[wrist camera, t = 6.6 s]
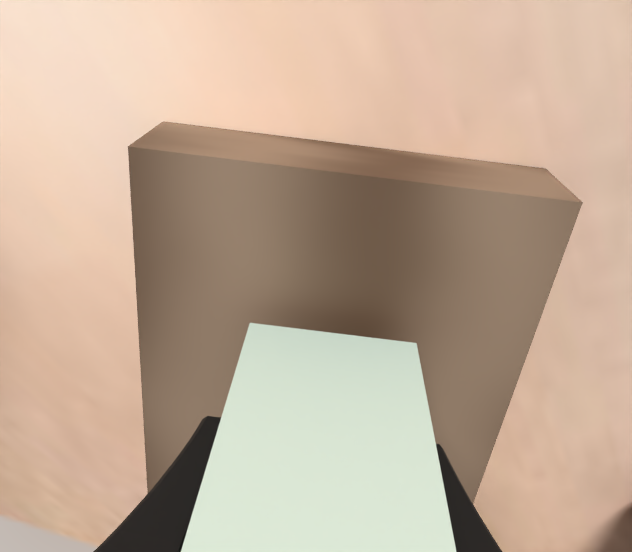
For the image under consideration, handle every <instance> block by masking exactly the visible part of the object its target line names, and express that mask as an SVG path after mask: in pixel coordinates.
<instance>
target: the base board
mask: <svg viewBox="0 0 632 552" xmlns="http://www.w3.org/2000/svg"><path fill="white" fill-rule="evenodd" d="M128 153H129V171H130V188H131V206H132V224H133V241H134V259H135V277H136V294H137V312H138V330H139V347H140V365H141V382H142V400H143V418H144V435H145V453H146V471H147V488H148V493H149V492H150V491H151V489H152V488H153V487H154V486H155V485H156V483H157V482H158V481H159V480H160V478H161V477H162V476H163V474H164V473H165V472H166V471H167V469H168V468H169V467H170V466H171V464H172V463H173V462H174V460H175V459H176V458H177V456H178V455H179V454H180V452H181V451H182V450H183V448H184V447H185V445H186V444H187V443H188V441H189V440H190V438H191V437H192V435H193V434H194V432H195V431H196V429H197V427H198V426H199V424H200V422H201V421H202V419H203V418H205V417H207V416H213V417H222V413H223V410H224V407H225V403H226V400H227V397H228V393H229V390H230V387H231V384H232V380H233V377H234V374H235V370H236V367H237V364H238V360H239V357H240V354H241V350H242V347H243V344H244V340H245V337H246V334H247V330H248V327H249V324H250V323H256V324H264V325H273V326H281V327H289V328H297V329H305V330H314V331H322V332H330V333H338V334H346V335H355V336H363V337H371V338H379V339H387V340H395V341H404V342H412V343H417V348H418V354H419V359H420V364H421V369H422V374H423V380H424V385H425V390H426V395H427V401H428V406H429V411H430V416H431V421H432V427H433V432H434V437H435V442H436V444H440V445H441V447H442V448H443V449H444V451H445V453H446V455H447V457H448V459H449V461H450V463H451V465H452V467H453V469H454V471H455V473H456V475H457V477H458V479H459V480H460V482H461V484H462V486H463V488H464V489H465V491H466V493H467V495H468V497H469V498H470V500H471V502H472V504H473V502H474V499H475V497H476V494H477V491H478V488H479V486H480V483H481V480H482V477H483V475H484V472H485V469H486V466H487V464H488V461H489V458H490V455H491V453H492V450H493V447H494V444H495V442H496V439H497V436H498V433H499V431H500V428H501V425H502V422H503V420H504V417H505V414H506V411H507V409H508V406H509V403H510V400H511V398H512V395H513V392H514V389H515V387H516V384H517V381H518V378H519V376H520V373H521V370H522V367H523V365H524V362H525V359H526V356H527V354H528V351H529V348H530V345H531V343H532V340H533V337H534V334H535V332H536V329H537V326H538V323H539V321H540V318H541V315H542V312H543V310H544V307H545V304H546V301H547V299H548V296H549V293H550V290H551V288H552V285H553V282H554V279H555V277H556V274H557V271H558V268H559V266H560V263H561V260H562V257H563V255H564V252H565V249H566V246H567V244H568V241H569V238H570V235H571V233H572V230H573V227H574V224H575V222H576V219H577V216H578V213H579V211H580V208H581V205H582V202H581V201H580V200H579V199H578V198H577V197H576V196H575V195H574V194H573V193H572V192H571V191H570V190H568V189H567V188H566V187H565V186H564V185H563V184H562V183H561V182H560V181H559V180H558V179H556V178H555V177H554V176H553V175H552V174H551V173H550V172H549V171H548V170H547V169H544V168H536V167H527V166H519V165H511V164H503V163H495V162H487V161H479V160H471V159H462V158H454V157H446V156H438V155H430V154H422V153H414V152H406V151H398V150H389V149H381V148H373V147H365V146H357V145H349V144H341V143H333V142H324V141H316V140H308V139H300V138H292V137H284V136H276V135H268V134H260V133H251V132H243V131H235V130H227V129H219V128H211V127H203V126H195V125H186V124H178V123H170V122H162V123H160V124H159V125H158V126H156V127H155V128H153V129H152V130H151V131H149V132H148V133H146V134H145V135H144V136H142V137H141V138H139V139H138V140H137V141H135V142H134V143H132V144H131V145H130V146H128Z"/></svg>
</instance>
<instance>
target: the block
mask: <svg viewBox="0 0 632 552" xmlns="http://www.w3.org/2000/svg"><path fill="white" fill-rule="evenodd" d="M181 552H456V547H455V542H454V536H453V531H452V526H451V521H450V515H449V510H448V505H447V500H446V495H445V489H444V484H443V479H442V474H441V468H440V463H439V458H438V453H437V448H436V442H435V437H434V432H433V427H432V421H431V416H430V411H429V406H428V401H427V395H426V390H425V385H424V380H423V374H422V369H421V364H420V359H419V354H418V348H417V343H412V342H404V341H395V340H387V339H379V338H371V337H363V336H355V335H346V334H338V333H330V332H322V331H314V330H305V329H297V328H289V327H281V326H273V325H264V324H256V323H250V324H249V327H248V330H247V334H246V337H245V340H244V344H243V347H242V350H241V354H240V357H239V360H238V364H237V367H236V370H235V374H234V377H233V380H232V384H231V387H230V390H229V393H228V397H227V400H226V403H225V407H224V410H223V413H222V417H221V420H220V423H219V427H218V430H217V433H216V437H215V440H214V443H213V447H212V450H211V453H210V457H209V460H208V463H207V467H206V470H205V473H204V477H203V480H202V483H201V486H200V490H199V493H198V496H197V500H196V503H195V506H194V510H193V513H192V516H191V520H190V523H189V526H188V530H187V533H186V536H185V540H184V543H183V546H182V550H181Z"/></svg>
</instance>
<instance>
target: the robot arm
mask: <svg viewBox="0 0 632 552" xmlns="http://www.w3.org/2000/svg"><path fill="white" fill-rule="evenodd" d="M220 420H221V417H213V416H207V417H205V418H203V419H202V421H201V422H200V424H199V426H198V427H197V429H196V431H195V432H194V434H193V435H192V437H191V438H190V440H189V441H188V443H187V444H186V445H185V447H184V448H183V450H182V451H181V452H180V454H179V455H178V456H177V458H176V459H175V460H174V462H173V463H172V464H171V466H170V467H169V468H168V469H167V471H166V472H165V473H164V474H163V476H162V477H161V478H160V480H159V481H158V482H157V483H156V485H155V486H154V487H153V488H152V489H151V491H150V492H149V493H148V494H147V495H146V496H145V498H144V499H143V500H142V501H141V502H140V503H139V504H138V505H137V507H136V508H135V509H134V510H133V511H132V512H131V513H130V514H129V516H128V517H127V518H126V519H125V520H124V521H123V522H122V523H121V524H120V526H119V527H118V528H117V529H116V530H115V531H114V532H113V533H112V534H111V535H110V536H109V537H108V538H107V539H106V540H105V541H104V542H103V543H102V544H101V545H100V546H99V547H98V548H97V549H96V550H95V551H94V552H181V550H182V546H183V543H184V540H185V536H186V533H187V530H188V526H189V523H190V520H191V516H192V513H193V510H194V506H195V503H196V500H197V496H198V493H199V490H200V486H201V483H202V480H203V477H204V473H205V470H206V467H207V463H208V460H209V457H210V453H211V450H212V447H213V443H214V440H215V437H216V433H217V430H218V427H219V423H220ZM436 448H437V453H438V458H439V463H440V468H441V474H442V479H443V484H444V489H445V495H446V500H447V505H448V510H449V515H450V521H451V526H452V531H453V536H454V542H455V547H456V552H502V551H501V549H500V548H499V546H498V545H497V543H496V542H495V540H494V538H493V537H492V535H491V534H490V532H489V530H488V529H487V527H486V525H485V524H484V522H483V520H482V519H481V517H480V515H479V514H478V512H477V511H476V509H475V507H474V505H473V504H472V502H471V500H470V498H469V497H468V495H467V493H466V491H465V489H464V488H463V486H462V484H461V482H460V480H459V479H458V477H457V475H456V473H455V471H454V469H453V467H452V465H451V463H450V461H449V459H448V457H447V455H446V453H445V451H444V449H443V448H442V447H441V445H440V444H436Z"/></svg>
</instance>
